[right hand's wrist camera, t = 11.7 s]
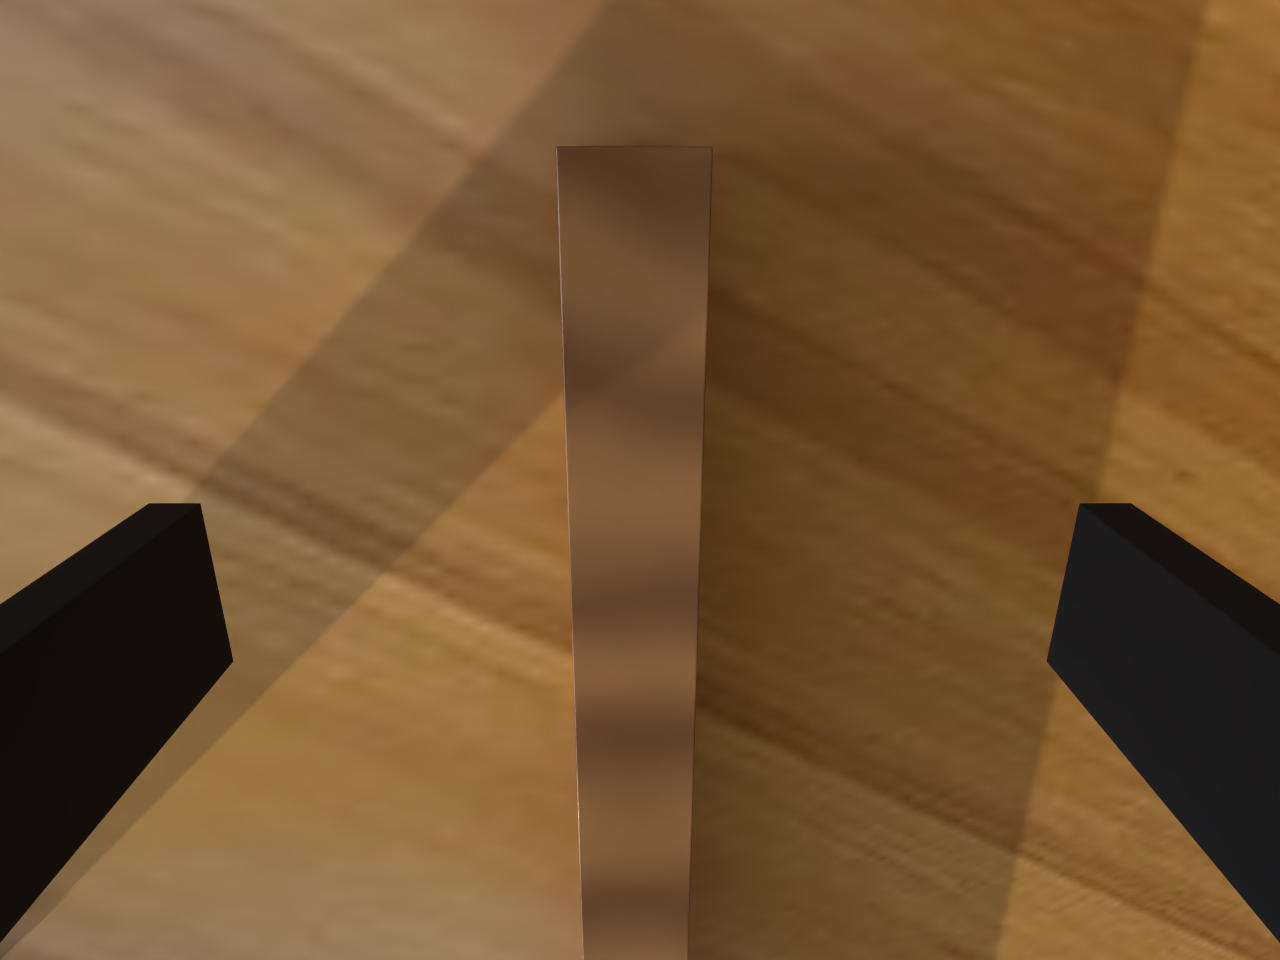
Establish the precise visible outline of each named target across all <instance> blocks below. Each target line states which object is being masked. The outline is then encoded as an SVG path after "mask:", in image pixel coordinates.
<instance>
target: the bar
mask: <svg viewBox="0 0 1280 960" xmlns="http://www.w3.org/2000/svg"><path fill="white" fill-rule="evenodd" d="M712 157H713V148H712V147H573V146H558V147H556V168H557V198H558V229H559V259H560V289H561V319H562V350H563V380H564V410H565V440H566V471H567V501H568V531H569V561H570V592H571V622H572V652H573V683H574V713H575V743H576V773H577V804H578V834H579V864H580V894H581V925H582V955H583V960H688V935H689V902H690V870H691V838H692V805H693V773H694V740H695V708H696V675H697V643H698V611H699V578H700V546H701V513H702V481H703V449H704V416H705V384H706V351H707V319H708V286H709V254H710V222H711V189H712Z"/></svg>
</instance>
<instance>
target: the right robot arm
mask: <svg viewBox="0 0 1280 960" xmlns="http://www.w3.org/2000/svg"><path fill="white" fill-rule="evenodd" d="M232 662H233V658H232V653H231V648H230V643H229V639H228V634H227V629H226V624H225V619H224V615H223V610H222V605H221V600H220V595H219V591H218V586H217V581H216V576H215V571H214V567H213V562H212V557H211V552H210V547H209V543H208V538H207V533H206V528H205V523H204V519H203V514H202V509H201V504H200V503H149V504H147V505H146V506H144V507H143V508H142V509H140V510H139V511H137V512H136V513H134V514H133V515H131V516H130V517H128V518H127V519H125V520H124V521H122V522H121V523H119V524H118V525H116V526H115V527H114V528H112V529H111V530H109V531H108V532H106V533H105V534H103V535H102V536H100V537H99V538H97V539H96V540H94V541H93V542H91V543H90V544H88V545H87V546H86V547H84V548H83V549H81V550H80V551H78V552H77V553H75V554H74V555H72V556H71V557H69V558H68V559H66V560H65V561H63V562H62V563H60V564H59V565H58V566H56V567H55V568H53V569H52V570H50V571H49V572H47V573H46V574H44V575H43V576H41V577H40V578H38V579H37V580H35V581H34V582H32V583H31V584H30V585H28V586H27V587H25V588H24V589H22V590H21V591H19V592H18V593H16V594H15V595H13V596H12V597H10V598H9V599H7V600H6V601H4V602H3V603H2V604H0V942H1V941H2V940H3V939H4V938H5V936H6V935H7V934H8V933H9V931H10V930H11V929H12V928H13V927H14V925H15V924H16V923H17V922H18V921H19V919H20V918H21V917H22V916H23V915H24V913H25V912H26V911H27V910H28V909H29V907H30V906H31V905H32V904H33V903H34V901H35V900H36V899H37V898H38V896H39V895H40V894H41V893H42V892H43V890H44V889H45V888H46V887H47V886H48V884H49V883H50V882H51V881H52V880H53V878H54V877H55V876H56V875H57V874H58V872H59V871H60V870H61V869H62V867H63V866H64V865H65V864H66V863H67V861H68V860H69V859H70V858H71V857H72V855H73V854H74V853H75V852H76V851H77V849H78V848H79V847H80V846H81V845H82V843H83V842H84V841H85V840H86V839H87V837H88V836H89V835H90V834H91V832H92V831H93V830H94V829H95V828H96V826H97V825H98V824H99V823H100V822H101V820H102V819H103V818H104V817H105V816H106V814H107V813H108V812H109V811H110V810H111V808H112V807H113V806H114V805H115V804H116V802H117V801H118V800H119V799H120V797H121V796H122V795H123V794H124V793H125V791H126V790H127V789H128V788H129V787H130V785H131V784H132V783H133V782H134V781H135V779H136V778H137V777H138V776H139V775H140V773H141V772H142V771H143V770H144V768H145V767H146V766H147V765H148V764H149V762H150V761H151V760H152V759H153V758H154V756H155V755H156V754H157V753H158V752H159V750H160V749H161V748H162V747H163V746H164V744H165V743H166V742H167V741H168V740H169V738H170V737H171V736H172V735H173V733H174V732H175V731H176V730H177V729H178V727H179V726H180V725H181V724H182V723H183V721H184V720H185V719H186V718H187V717H188V715H189V714H190V713H191V712H192V711H193V709H194V708H195V707H196V706H197V705H198V703H199V702H200V701H201V700H202V698H203V697H204V696H205V695H206V694H207V692H208V691H209V690H210V689H211V688H212V686H213V685H214V684H215V683H216V682H217V680H218V679H219V678H220V677H221V676H222V674H223V673H224V672H225V671H226V670H227V668H228V667H229V666H230V665H231V663H232ZM1047 662H1048V663H1049V665H1050V666H1051V667H1052V668H1053V670H1054V671H1055V672H1056V673H1057V674H1058V676H1059V677H1060V678H1061V679H1062V680H1063V682H1064V683H1065V684H1066V685H1067V686H1068V688H1069V689H1070V690H1071V691H1072V692H1073V694H1074V695H1075V696H1076V697H1077V698H1078V700H1079V701H1080V702H1081V703H1082V705H1083V706H1084V707H1085V708H1086V709H1087V711H1088V712H1089V713H1090V714H1091V715H1092V717H1093V718H1094V719H1095V720H1096V721H1097V723H1098V724H1099V725H1100V726H1101V727H1102V729H1103V730H1104V731H1105V732H1106V733H1107V735H1108V736H1109V737H1110V738H1111V740H1112V741H1113V742H1114V743H1115V744H1116V746H1117V747H1118V748H1119V749H1120V750H1121V752H1122V753H1123V754H1124V755H1125V756H1126V758H1127V759H1128V760H1129V761H1130V762H1131V764H1132V765H1133V766H1134V767H1135V769H1136V770H1137V771H1138V772H1139V773H1140V775H1141V776H1142V777H1143V778H1144V779H1145V781H1146V782H1147V783H1148V784H1149V785H1150V787H1151V788H1152V789H1153V790H1154V791H1155V793H1156V794H1157V795H1158V796H1159V797H1160V799H1161V800H1162V801H1163V802H1164V804H1165V805H1166V806H1167V807H1168V808H1169V810H1170V811H1171V812H1172V813H1173V814H1174V816H1175V817H1176V818H1177V819H1178V820H1179V822H1180V823H1181V824H1182V825H1183V826H1184V828H1185V829H1186V830H1187V831H1188V832H1189V834H1190V835H1191V836H1192V837H1193V839H1194V840H1195V841H1196V842H1197V843H1198V845H1199V846H1200V847H1201V848H1202V849H1203V851H1204V852H1205V853H1206V854H1207V855H1208V857H1209V858H1210V859H1211V860H1212V861H1213V863H1214V864H1215V865H1216V866H1217V867H1218V869H1219V870H1220V871H1221V872H1222V874H1223V875H1224V876H1225V877H1226V878H1227V880H1228V881H1229V882H1230V883H1231V884H1232V886H1233V887H1234V888H1235V889H1236V890H1237V892H1238V893H1239V894H1240V895H1241V896H1242V898H1243V899H1244V900H1245V901H1246V903H1247V904H1248V905H1249V906H1250V907H1251V909H1252V910H1253V911H1254V912H1255V913H1256V915H1257V916H1258V917H1259V918H1260V919H1261V921H1262V922H1263V923H1264V924H1265V925H1266V927H1267V928H1268V929H1269V930H1270V931H1271V933H1272V934H1273V935H1274V936H1275V938H1276V939H1277V940H1278V941H1279V942H1280V604H1278V603H1277V602H1276V601H1274V600H1273V599H1271V598H1270V597H1268V596H1267V595H1265V594H1264V593H1262V592H1261V591H1259V590H1258V589H1256V588H1255V587H1253V586H1252V585H1250V584H1249V583H1248V582H1246V581H1245V580H1243V579H1242V578H1240V577H1239V576H1237V575H1236V574H1234V573H1233V572H1231V571H1230V570H1228V569H1227V568H1225V567H1224V566H1222V565H1221V564H1220V563H1218V562H1217V561H1215V560H1214V559H1212V558H1211V557H1209V556H1208V555H1206V554H1205V553H1203V552H1202V551H1200V550H1199V549H1197V548H1196V547H1194V546H1193V545H1192V544H1190V543H1189V542H1187V541H1186V540H1184V539H1183V538H1181V537H1180V536H1178V535H1177V534H1175V533H1174V532H1172V531H1171V530H1169V529H1168V528H1166V527H1165V526H1164V525H1162V524H1161V523H1159V522H1158V521H1156V520H1155V519H1153V518H1152V517H1150V516H1149V515H1147V514H1146V513H1144V512H1143V511H1141V510H1140V509H1138V508H1137V507H1136V506H1134V505H1133V504H1131V503H1080V504H1079V509H1078V514H1077V519H1076V523H1075V528H1074V533H1073V538H1072V543H1071V547H1070V552H1069V557H1068V562H1067V567H1066V571H1065V576H1064V581H1063V586H1062V591H1061V595H1060V600H1059V605H1058V610H1057V615H1056V619H1055V624H1054V629H1053V634H1052V639H1051V643H1050V648H1049V653H1048V658H1047Z"/></svg>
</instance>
